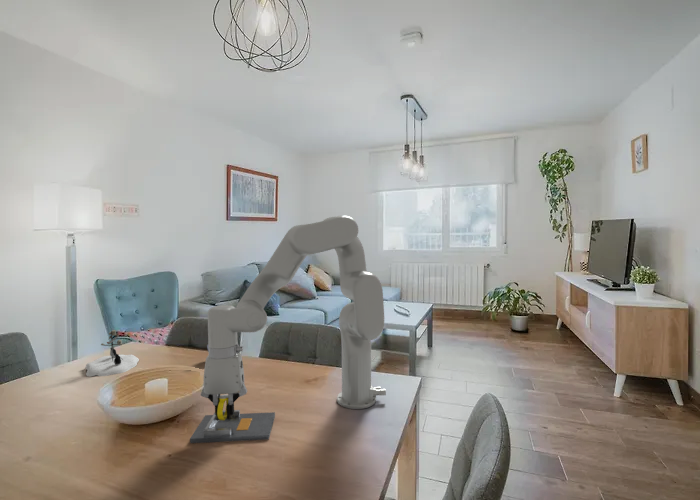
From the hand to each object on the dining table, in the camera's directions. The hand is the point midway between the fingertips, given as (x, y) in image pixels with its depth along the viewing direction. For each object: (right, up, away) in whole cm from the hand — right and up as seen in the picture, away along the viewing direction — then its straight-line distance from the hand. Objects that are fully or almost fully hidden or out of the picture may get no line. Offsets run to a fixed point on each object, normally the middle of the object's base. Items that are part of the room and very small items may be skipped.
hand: (224, 416), depth 97 cm
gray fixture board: (+3, -4, 0) cm, 5 cm away
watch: (0, -1, 0) cm, 1 cm away
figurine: (-63, -3, +47) cm, 79 cm away
